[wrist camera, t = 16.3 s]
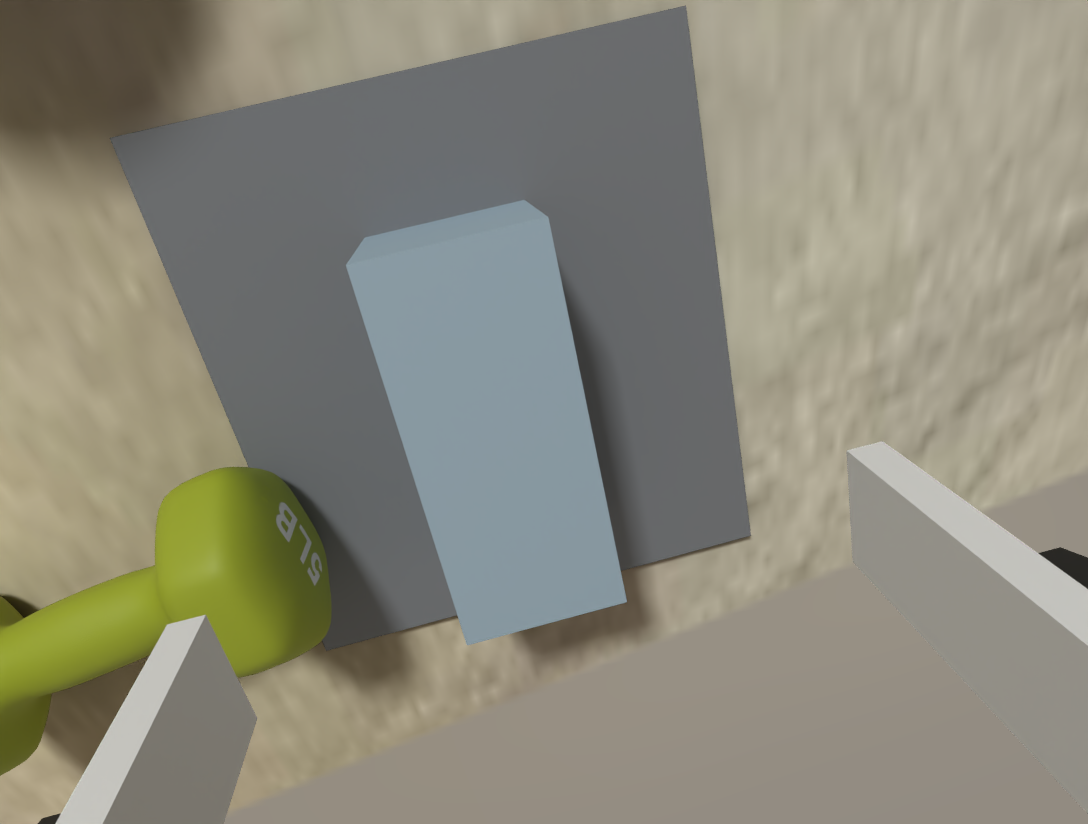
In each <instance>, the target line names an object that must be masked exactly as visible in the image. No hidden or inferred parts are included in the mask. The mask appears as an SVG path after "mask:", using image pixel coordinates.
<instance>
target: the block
mask: <svg viewBox="0 0 1088 824" xmlns="http://www.w3.org/2000/svg"><path fill="white" fill-rule="evenodd" d="M346 268H347V271H348V274H349V277H350V280H351V283H352V286H353V290H354V293H355V296H356V299H357V302H358V305H359V308H360V311H361V315H362V318H363V321H364V324H365V327H366V330H367V333H368V337H369V340H370V343H371V346H372V349H373V352H374V355H375V358H376V362H377V365H378V368H379V371H380V374H381V377H382V380H383V384H384V387H385V390H386V393H387V396H388V399H389V402H390V405H391V409H392V412H393V415H394V418H395V421H396V424H397V427H398V431H399V434H400V437H401V440H402V443H403V446H404V449H405V452H406V456H407V459H408V462H409V465H410V468H411V471H412V474H413V478H414V481H415V484H416V487H417V490H418V493H419V496H420V499H421V503H422V506H423V509H424V512H425V515H426V518H427V521H428V524H429V528H430V531H431V534H432V537H433V540H434V543H435V546H436V550H437V553H438V556H439V559H440V562H441V565H442V568H443V571H444V575H445V578H446V581H447V584H448V587H449V590H450V593H451V597H452V600H453V603H454V606H455V609H456V612H457V615H458V618H459V622H460V625H461V628H462V631H463V634H464V637H465V640H466V644H467V645H470V644H474V643H478V642H481V641H485V640H489V639H492V638H496V637H500V636H504V635H507V634H511V633H515V632H518V631H522V630H526V629H529V628H533V627H537V626H541V625H544V624H548V623H552V622H555V621H559V620H563V619H566V618H570V617H574V616H578V615H581V614H585V613H589V612H592V611H596V610H600V609H604V608H607V607H611V606H615V605H618V604H622V603H626V602H627V599H626V595H625V590H624V585H623V580H622V575H621V570H620V565H619V560H618V555H617V551H616V546H615V541H614V536H613V531H612V526H611V521H610V516H609V511H608V507H607V502H606V497H605V492H604V487H603V482H602V477H601V472H600V467H599V462H598V458H597V453H596V448H595V443H594V438H593V433H592V428H591V423H590V418H589V414H588V409H587V404H586V399H585V394H584V389H583V384H582V379H581V374H580V370H579V365H578V360H577V355H576V350H575V345H574V340H573V335H572V330H571V326H570V321H569V316H568V311H567V306H566V301H565V296H564V291H563V286H562V281H561V277H560V272H559V267H558V262H557V257H556V252H555V247H554V242H553V237H552V233H551V228H550V223H549V218H548V216H546V215H545V214H543V213H542V212H541V211H539V210H538V209H536V208H535V207H534V206H532V205H531V204H530V203H528V202H527V201H525V200H521V201H517V202H513V203H509V204H504V205H500V206H496V207H492V208H488V209H483V210H479V211H475V212H471V213H466V214H462V215H458V216H454V217H450V218H445V219H441V220H437V221H433V222H429V223H424V224H420V225H416V226H412V227H407V228H403V229H399V230H395V231H391V232H386V233H382V234H378V235H374V236H369V237H365V238H364V239H363V241H362V242H361V244H360V245H359V247H358V248H357V249H356V251H355V252H354V254H353V255H352V257H351V258H350V260H349V261H348V263H347V264H346Z"/></svg>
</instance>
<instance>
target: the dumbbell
mask: <svg viewBox="0 0 1088 824" xmlns="http://www.w3.org/2000/svg"><path fill="white" fill-rule="evenodd" d="M331 611H332V608H331V592H330V583H329V574H328V566H327V559H326V554H325V550H324V547H323V544H322V542H321V539H320V537H319V535H318V533H317V531H316V529H315V527H314V526H313V524H312V522H311V520H310V519H309V517H308V516H307V514H306V512H305V511H304V509H303V507H302V506H301V504H300V503H299V501H298V500H297V498H296V497H295V495H294V494H293V492H292V491H291V489H290V488H289V487H288V485H287V484H286V483H285V482H284V481H283V480H282V479H281V478H280V477H279V476H277V475H276V474H274V473H272V472H269V471H266V470H263V469H258V468H248V467H225V468H220V469H216V470H212V471H209V472H207V473H205V474H202V475H200V476H197V477H195V478H192V479H190V480H188V481H186V482H184V483H182V484H181V485H179V486H178V487H176V488H175V489H173V490H172V491H170V492H169V493H168V494H167V496H166V497H165V498H164V499H163V501H162V504H161V506H160V508H159V511H158V516H157V524H156V537H155V565H154V566H152V567H148V568H145V569H141V570H138V571H134V572H131V573H128V574H125V575H122V576H119V577H116V578H114V579H111V580H108V581H106V582H103V583H100V584H98V585H95V586H93V587H90V588H88V589H85V590H83V591H80V592H78V593H76V594H74V595H71V596H69V597H67V598H64V599H62V600H60V601H58V602H56V603H53V604H51V605H49V606H47V607H45V608H43V609H41V610H39V611H37V612H35V613H33V614H31V615H29V616H27V617H26V618H23V617H22V616H21V614H20V613H19V612H18V611H17V610H16V609H15V608H14V607H13V606H12V605H11V604H10V603H9V602H7V601H6V600H5V599H4V598H3V597H1V596H0V776H1V775H2V774H4V773H6V772H8V771H10V770H11V769H13V768H15V767H16V766H18V765H20V764H21V763H22V762H24V761H25V760H27V759H28V758H29V757H30V756H31V754H32V753H33V752H34V751H35V750H36V749H37V747H38V745H39V743H40V741H41V738H42V734H43V731H44V728H45V725H46V721H47V717H48V712H49V707H50V701H51V693H54V692H58V691H61V690H65V689H68V688H70V687H73V686H76V685H79V684H81V683H84V682H86V681H89V680H91V679H94V678H96V677H99V676H101V675H104V674H106V673H109V672H111V671H114V670H116V669H118V668H121V667H123V666H126V665H128V664H130V663H133V662H135V661H137V660H140V659H142V658H144V657H147V656H149V655H150V654H151V652H152V651H153V649H154V647H155V645H156V644H157V642H158V640H159V638H160V636H161V635H162V633H163V631H164V629H165V628H166V626H167V624H171V623H175V622H179V621H183V620H187V619H191V618H195V617H199V616H202V615H206V616H207V618H208V620H209V622H210V624H211V626H212V628H213V630H214V632H215V634H216V636H217V638H218V640H219V642H220V644H221V646H222V648H223V650H224V652H225V654H226V656H227V658H228V660H229V662H230V664H231V666H232V668H233V670H234V672H235V674H236V676H237V677H238V678H239V677H244V676H249V675H253V674H256V673H259V672H262V671H265V670H267V669H270V668H272V667H275V666H277V665H280V664H282V663H285V662H287V661H290V660H292V659H294V658H296V657H298V656H300V655H301V654H303V653H305V652H307V651H308V650H310V649H312V648H313V647H315V646H316V645H317V644H318V643H320V642H321V641H322V639H323V638H324V637H325V636H326V634H327V632H328V630H329V627H330V624H331Z"/></svg>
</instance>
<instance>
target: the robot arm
mask: <svg viewBox="0 0 1088 824" xmlns="http://www.w3.org/2000/svg"><path fill="white" fill-rule="evenodd" d="M847 468H848V486H849V504H850V522H851V540H852V558H853V563H854V564H855V565H856V566H857V567H858V568H859V569H860V570H861V571H862V573H863V574H864V575H865V576H866V577H867V578H868V579H869V580H870V581H871V582H872V583H873V584H874V585H875V586H876V588H877V589H878V590H879V591H880V592H881V593H882V594H883V595H884V596H885V597H886V598H887V599H888V600H889V601H890V603H891V604H892V605H893V606H894V607H895V608H896V609H897V610H898V611H899V612H900V613H901V614H902V615H903V616H904V618H905V619H906V620H907V621H908V622H909V623H910V624H911V625H912V626H913V627H914V628H915V629H916V630H917V632H918V633H919V634H920V635H921V636H922V637H923V638H924V639H925V640H926V641H927V642H928V643H929V644H930V645H931V647H932V648H933V649H934V650H935V651H936V652H937V653H938V654H939V655H940V656H941V657H942V658H943V659H944V661H946V662H947V664H948V665H949V666H950V667H951V668H952V669H953V670H954V671H955V672H956V673H957V674H958V675H959V676H960V678H962V680H963V681H964V682H965V683H966V684H967V685H968V686H969V687H970V688H971V689H972V691H973V692H974V693H975V694H976V695H977V696H978V697H979V698H980V699H981V700H982V701H983V702H984V703H985V704H986V705H987V706H988V708H989V709H990V710H991V711H992V712H993V713H994V714H995V715H996V716H997V717H998V718H999V719H1000V720H1001V722H1002V723H1003V724H1004V725H1005V726H1006V727H1007V728H1008V729H1009V730H1010V731H1011V732H1012V733H1013V734H1014V736H1016V738H1017V739H1018V740H1019V741H1020V742H1021V743H1022V744H1023V745H1024V746H1025V747H1026V748H1027V749H1028V751H1029V752H1030V753H1031V754H1032V755H1033V756H1034V757H1035V758H1036V759H1037V760H1038V761H1039V762H1040V763H1041V764H1042V766H1043V767H1044V768H1045V769H1046V770H1047V771H1048V772H1049V773H1050V774H1051V775H1052V776H1053V777H1054V778H1055V779H1056V781H1058V782H1059V784H1060V785H1061V786H1062V787H1063V788H1064V789H1065V790H1066V791H1067V792H1068V793H1069V794H1070V796H1072V798H1073V799H1074V800H1075V801H1076V802H1077V803H1078V804H1079V805H1080V806H1081V807H1082V808H1083V809H1084V811H1085V812H1086V813H1087V814H1088V558H1087V557H1084V556H1082V555H1079V554H1076V553H1074V552H1071V551H1068V550H1066V549H1063V548H1057V549H1053V550H1049V551H1045V552H1042V553H1037V552H1035V551H1034V550H1033V549H1031V548H1030V547H1028V546H1027V545H1026V544H1024V543H1023V542H1022V541H1020V540H1019V539H1017V538H1016V537H1015V536H1013V535H1012V534H1011V533H1009V532H1007V531H1006V530H1005V529H1003V528H1002V527H1001V526H999V525H998V524H997V523H995V522H994V521H993V520H991V519H990V518H988V517H987V516H986V515H984V514H983V513H981V512H980V511H979V510H977V509H976V508H975V507H973V506H972V505H970V504H969V503H968V502H966V501H965V500H963V499H962V498H961V497H959V496H958V495H957V494H955V493H954V492H952V491H951V490H950V489H948V488H947V487H945V486H944V485H943V484H941V483H940V482H938V481H937V480H936V479H934V478H933V477H932V476H930V475H929V474H927V473H926V472H925V471H923V470H922V469H920V468H919V467H918V466H916V465H915V464H914V463H912V462H911V461H909V460H908V459H907V458H905V457H904V456H902V455H901V454H900V453H898V452H897V451H895V450H894V449H893V448H891V447H890V446H889V445H887V444H886V443H884V442H883V441H882V442H878V443H874V444H870V445H866V446H862V447H858V448H854V449H851V450H847ZM256 721H257V717H256V714H255V712H254V710H253V708H252V706H251V704H250V702H249V700H248V698H247V696H246V694H245V692H244V690H243V688H242V686H241V684H240V682H239V680H238V678H237V676H236V674H235V672H234V670H233V668H232V666H231V664H230V662H229V660H228V658H227V656H226V654H225V652H224V650H223V648H222V646H221V644H220V642H219V640H218V638H217V636H216V634H215V632H214V630H213V628H212V626H211V624H210V622H209V620H208V618H207V616H206V615H202V616H199V617H195V618H191V619H187V620H183V621H179V622H175V623H171V624H167V626H166V628H165V629H164V631H163V633H162V635H161V636H160V638H159V640H158V642H157V644H156V645H155V647H154V649H153V651H152V652H151V654H150V656H149V658H148V660H147V661H146V663H145V665H144V667H143V668H142V670H141V672H140V674H139V676H138V677H137V679H136V681H135V683H134V685H133V686H132V688H131V690H130V692H129V693H128V695H127V697H126V699H125V701H124V702H123V704H122V706H121V708H120V709H119V711H118V713H117V715H116V717H115V718H114V720H113V722H112V724H111V725H110V727H109V729H108V731H107V733H106V734H105V736H104V738H103V740H102V742H101V743H100V745H99V747H98V749H97V750H96V752H95V754H94V756H93V758H92V759H91V761H90V763H89V765H88V766H87V768H86V770H85V772H84V774H83V775H82V777H81V779H80V781H79V782H78V784H77V786H76V788H75V790H74V791H73V793H72V795H71V797H70V799H69V800H68V802H67V804H66V806H65V807H64V809H63V811H62V813H61V814H57V815H53V816H49V817H46V818H42V820H41V821H40V822H39V823H38V824H223V823H224V821H225V817H226V814H227V811H228V808H229V805H230V802H231V799H232V796H233V792H234V789H235V786H236V783H237V780H238V777H239V774H240V771H241V767H242V764H243V761H244V758H245V755H246V752H247V749H248V746H249V742H250V739H251V736H252V733H253V730H254V727H255V724H256Z"/></svg>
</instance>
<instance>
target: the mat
mask: <svg viewBox="0 0 1088 824" xmlns="http://www.w3.org/2000/svg"><path fill="white" fill-rule="evenodd" d="M110 140H111V142H112V144H113V147H114V149H115V152H116V154H117V156H118V159H119V161H120V163H121V166H122V168H123V171H124V173H125V175H126V178H127V180H128V182H129V185H130V187H131V189H132V192H133V194H134V197H135V199H136V201H137V204H138V206H139V208H140V211H141V213H142V216H143V218H144V220H145V223H146V225H147V227H148V230H149V232H150V234H151V237H152V239H153V242H154V244H155V246H156V249H157V251H158V253H159V256H160V258H161V261H162V263H163V265H164V268H165V270H166V272H167V275H168V277H169V279H170V282H171V284H172V287H173V289H174V291H175V294H176V296H177V298H178V301H179V303H180V306H181V308H182V310H183V313H184V315H185V317H186V320H187V322H188V324H189V327H190V329H191V332H192V334H193V336H194V339H195V341H196V343H197V346H198V348H199V351H200V353H201V355H202V358H203V360H204V362H205V365H206V367H207V369H208V372H209V374H210V377H211V379H212V381H213V384H214V386H215V388H216V391H217V393H218V396H219V398H220V400H221V403H222V405H223V407H224V410H225V412H226V414H227V417H228V419H229V422H230V424H231V426H232V429H233V431H234V433H235V436H236V438H237V440H238V443H239V445H240V448H241V450H242V452H243V455H244V457H245V459H246V462H247V464H248V467H249V468H258V469H263V470H266V471H269V472H272V473H274V474H276V475H277V476H279V477H280V478H281V479H282V480H283V481H284V482H285V483H286V484H287V485H288V487H289V488H290V489H291V491H292V492H293V494H294V495H295V497H296V498H297V500H298V501H299V503H300V504H301V506H302V507H303V509H304V511H305V512H306V514H307V516H308V517H309V519H310V520H311V522H312V524H313V526H314V527H315V529H316V531H317V533H318V535H319V537H320V539H321V542H322V544H323V547H324V550H325V554H326V559H327V566H328V574H329V583H330V592H331V608H332V611H331V624H330V627H329V630H328V632H327V634H326V636H325V637H324V638H323V639H322V642H323V644H324V647H325V649H326V651H327V650H331V649H334V648H338V647H342V646H345V645H349V644H353V643H357V642H360V641H364V640H368V639H371V638H375V637H379V636H382V635H386V634H390V633H393V632H397V631H401V630H404V629H408V628H412V627H416V626H419V625H423V624H427V623H430V622H434V621H438V620H441V619H445V618H449V617H452V616H456V615H457V612H456V609H455V606H454V603H453V600H452V597H451V593H450V590H449V587H448V584H447V581H446V578H445V575H444V571H443V568H442V565H441V562H440V559H439V556H438V553H437V550H436V546H435V543H434V540H433V537H432V534H431V531H430V528H429V524H428V521H427V518H426V515H425V512H424V509H423V506H422V503H421V499H420V496H419V493H418V490H417V487H416V484H415V481H414V478H413V474H412V471H411V468H410V465H409V462H408V459H407V456H406V452H405V449H404V446H403V443H402V440H401V437H400V434H399V431H398V427H397V424H396V421H395V418H394V415H393V412H392V409H391V405H390V402H389V399H388V396H387V393H386V390H385V387H384V384H383V380H382V377H381V374H380V371H379V368H378V365H377V362H376V358H375V355H374V352H373V349H372V346H371V343H370V340H369V337H368V333H367V330H366V327H365V324H364V321H363V318H362V315H361V311H360V308H359V305H358V302H357V299H356V296H355V293H354V290H353V286H352V283H351V280H350V277H349V274H348V271H347V268H346V264H347V263H348V261H349V260H350V258H351V257H352V255H353V254H354V252H355V251H356V249H357V248H358V247H359V245H360V244H361V242H362V241H363V239H364V238H365V237H369V236H374V235H378V234H382V233H386V232H391V231H395V230H399V229H403V228H407V227H412V226H416V225H420V224H424V223H429V222H433V221H437V220H441V219H445V218H450V217H454V216H458V215H462V214H466V213H471V212H475V211H479V210H483V209H488V208H492V207H496V206H500V205H504V204H509V203H513V202H517V201H521V200H525V201H527V202H528V203H530V204H531V205H532V206H534V207H535V208H536V209H538V210H539V211H541V212H542V213H543V214H545V215H546V216H548V218H549V223H550V228H551V233H552V237H553V242H554V247H555V252H556V257H557V262H558V267H559V272H560V277H561V281H562V286H563V291H564V296H565V301H566V306H567V311H568V316H569V321H570V326H571V330H572V335H573V340H574V345H575V350H576V355H577V360H578V365H579V370H580V374H581V379H582V384H583V389H584V394H585V399H586V404H587V409H588V414H589V418H590V423H591V428H592V433H593V438H594V443H595V448H596V453H597V458H598V462H599V467H600V472H601V477H602V482H603V487H604V492H605V497H606V502H607V507H608V511H609V516H610V521H611V526H612V531H613V536H614V541H615V546H616V551H617V555H618V560H619V565H620V570H621V571H622V570H626V569H629V568H633V567H637V566H641V565H644V564H648V563H652V562H655V561H659V560H663V559H666V558H670V557H674V556H677V555H681V554H685V553H689V552H692V551H696V550H700V549H703V548H707V547H711V546H714V545H718V544H722V543H725V542H729V541H733V540H736V539H740V538H744V537H748V536H751V534H750V525H749V517H748V509H747V501H746V493H745V485H744V476H743V468H742V460H741V452H740V444H739V436H738V427H737V419H736V411H735V403H734V395H733V387H732V378H731V370H730V362H729V354H728V346H727V338H726V329H725V321H724V313H723V305H722V297H721V289H720V280H719V272H718V264H717V256H716V248H715V240H714V231H713V223H712V215H711V207H710V199H709V191H708V182H707V174H706V166H705V158H704V150H703V141H702V133H701V125H700V117H699V109H698V101H697V92H696V84H695V76H694V68H693V60H692V52H691V43H690V35H689V27H688V19H687V11H686V6H682V7H678V8H673V9H669V10H665V11H660V12H656V13H652V14H647V15H643V16H639V17H634V18H630V19H626V20H621V21H617V22H612V23H608V24H604V25H599V26H595V27H591V28H586V29H582V30H578V31H573V32H569V33H565V34H560V35H556V36H552V37H547V38H543V39H538V40H534V41H530V42H525V43H521V44H517V45H512V46H508V47H504V48H499V49H495V50H491V51H486V52H482V53H478V54H473V55H469V56H464V57H460V58H456V59H451V60H447V61H443V62H438V63H434V64H430V65H425V66H421V67H417V68H412V69H408V70H404V71H399V72H395V73H390V74H386V75H382V76H377V77H373V78H369V79H364V80H360V81H356V82H351V83H347V84H343V85H338V86H334V87H330V88H325V89H321V90H316V91H312V92H308V93H303V94H299V95H295V96H290V97H286V98H282V99H277V100H273V101H269V102H264V103H260V104H256V105H251V106H247V107H242V108H238V109H234V110H229V111H225V112H221V113H216V114H212V115H208V116H203V117H199V118H195V119H190V120H186V121H182V122H177V123H173V124H168V125H164V126H160V127H155V128H151V129H147V130H142V131H138V132H134V133H129V134H125V135H121V136H116V137H112V138H110Z"/></svg>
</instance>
